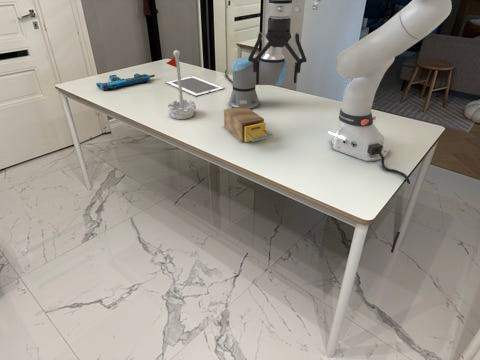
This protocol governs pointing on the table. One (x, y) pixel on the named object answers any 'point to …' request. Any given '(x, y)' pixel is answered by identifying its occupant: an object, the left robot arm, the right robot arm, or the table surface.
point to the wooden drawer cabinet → (239, 120)
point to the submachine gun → (123, 81)
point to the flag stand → (180, 95)
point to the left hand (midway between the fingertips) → (275, 81)
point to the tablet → (195, 86)
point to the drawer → (255, 132)
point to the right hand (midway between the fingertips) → (306, 10)
